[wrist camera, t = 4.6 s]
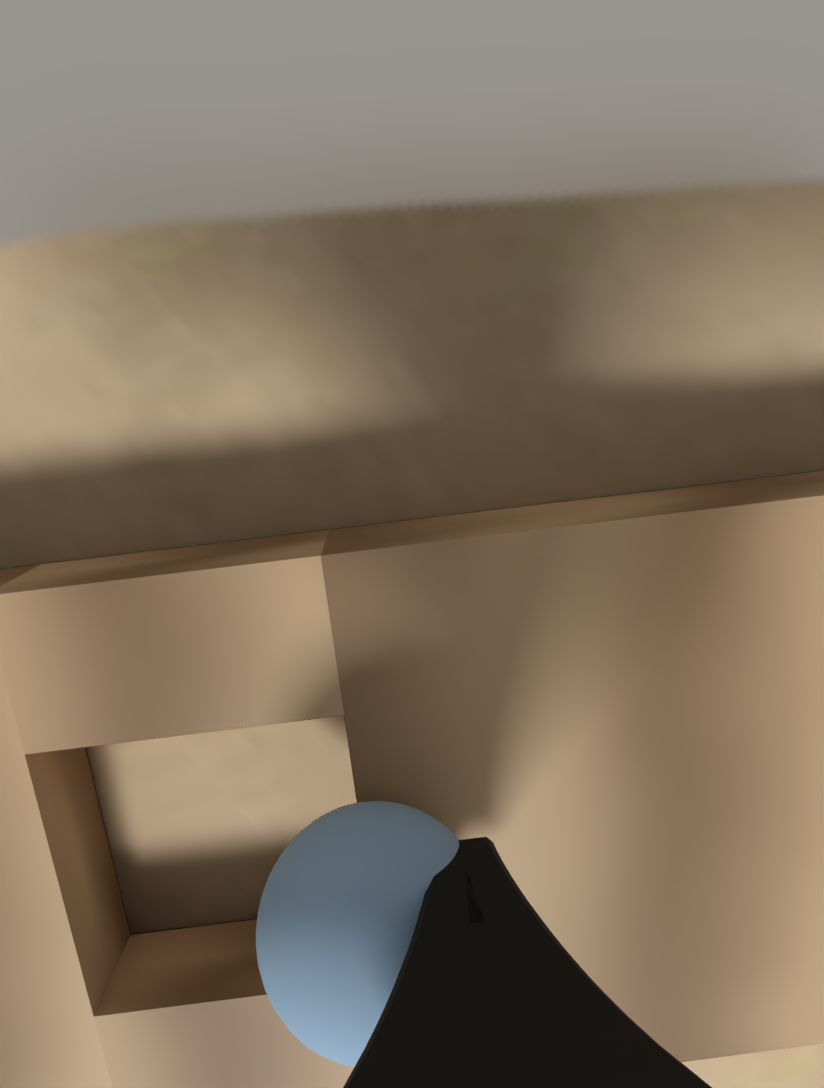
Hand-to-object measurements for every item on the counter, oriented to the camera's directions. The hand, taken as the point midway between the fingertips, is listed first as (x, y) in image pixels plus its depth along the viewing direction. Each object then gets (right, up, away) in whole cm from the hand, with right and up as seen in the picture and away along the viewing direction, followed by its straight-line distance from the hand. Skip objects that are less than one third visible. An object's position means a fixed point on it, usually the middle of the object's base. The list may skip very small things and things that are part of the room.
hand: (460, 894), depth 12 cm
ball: (-1, 0, 0) cm, 1 cm away
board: (0, +1, +3) cm, 3 cm away
